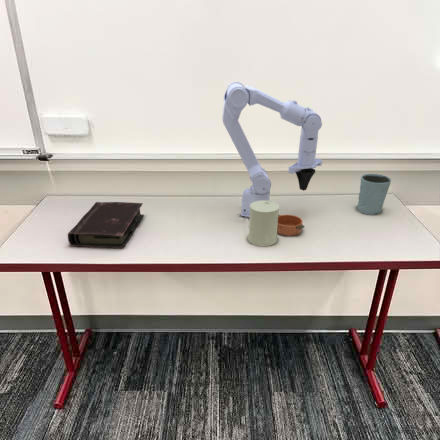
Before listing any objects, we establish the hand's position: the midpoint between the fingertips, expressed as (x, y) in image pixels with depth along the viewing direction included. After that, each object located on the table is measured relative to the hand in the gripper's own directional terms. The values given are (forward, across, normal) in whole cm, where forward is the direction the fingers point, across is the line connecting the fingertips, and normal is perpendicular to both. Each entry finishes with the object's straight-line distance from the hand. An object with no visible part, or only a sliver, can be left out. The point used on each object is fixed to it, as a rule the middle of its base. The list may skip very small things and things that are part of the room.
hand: (302, 189), depth 148 cm
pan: (+9, -13, -7) cm, 17 cm away
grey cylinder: (+9, +23, -13) cm, 28 cm away
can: (+9, -25, -7) cm, 27 cm away
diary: (+9, -61, +30) cm, 68 cm away
